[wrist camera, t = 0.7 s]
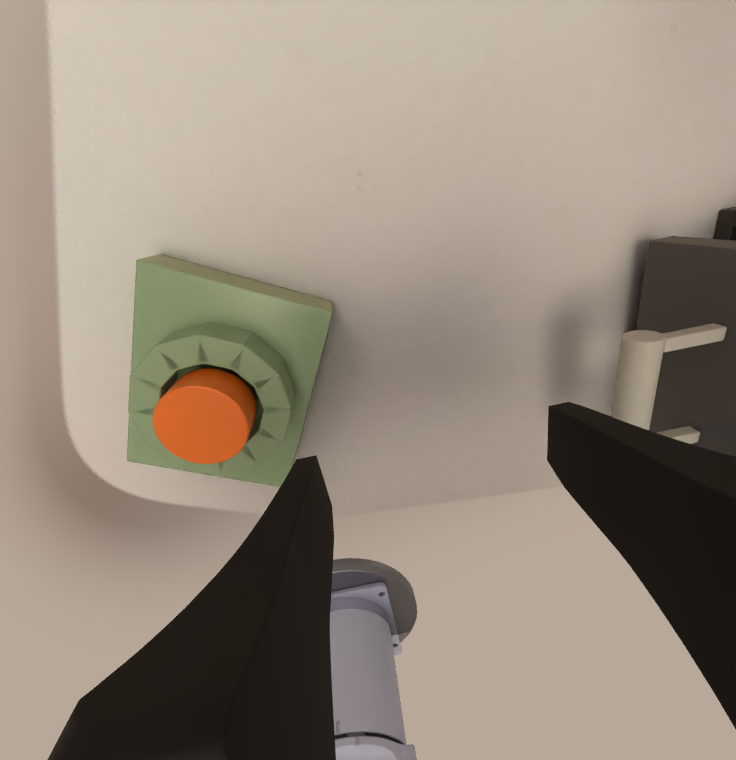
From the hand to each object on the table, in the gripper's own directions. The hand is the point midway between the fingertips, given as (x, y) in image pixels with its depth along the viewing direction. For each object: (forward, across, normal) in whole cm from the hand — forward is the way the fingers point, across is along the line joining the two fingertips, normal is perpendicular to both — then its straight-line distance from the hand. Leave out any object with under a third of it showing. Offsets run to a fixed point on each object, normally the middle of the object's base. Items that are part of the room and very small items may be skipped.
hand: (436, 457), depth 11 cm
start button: (+5, +8, -1) cm, 10 cm away
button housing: (+9, +8, -1) cm, 12 cm away
